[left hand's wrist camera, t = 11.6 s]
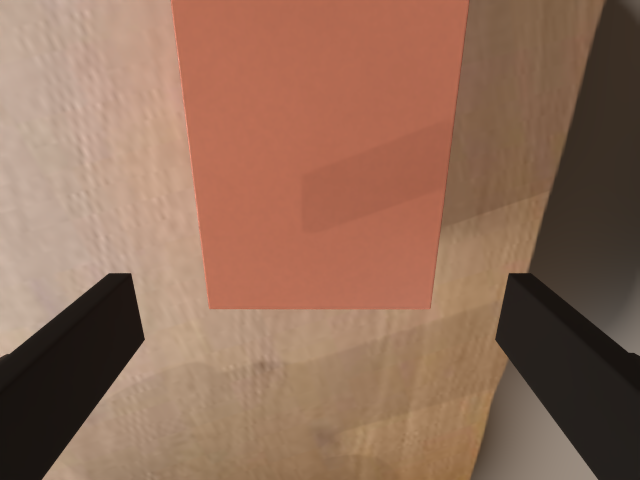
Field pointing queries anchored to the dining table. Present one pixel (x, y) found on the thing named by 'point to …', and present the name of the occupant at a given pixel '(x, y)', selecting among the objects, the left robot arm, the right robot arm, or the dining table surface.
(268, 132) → the cabinet
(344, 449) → the dining table surface
